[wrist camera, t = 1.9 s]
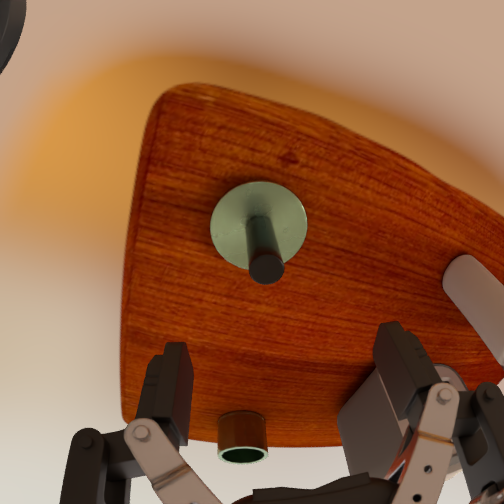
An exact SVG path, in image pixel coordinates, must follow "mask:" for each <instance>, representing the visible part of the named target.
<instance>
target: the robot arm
mask: <svg viewBox="0 0 504 504" xmlns="http://www.w3.org/2000/svg"><path fill="white" fill-rule="evenodd" d="M373 359H374V362H375V365H376V367H377V369H378V372H379V374H380V376H381V379H382V381H383V384H384V386H385V389H386V391H387V394H388V396H389V399H390V401H391V404H392V406H393V409H394V411H395V414H396V416H397V419H398V421H401V420H404V419H407V420H408V422H409V424H408V426H407V429H406V431H405V434H404V437H403V439H402V442H401V444H400V447H399V450H398V452H397V454H396V457H395V459H394V461H393V463H392V465H391V467H390V468H389V470H388V472H387V474H386V475H385V477H384V479H382V478H376V477H369V473H368V472H364V473H360V474H356V475H352V476H347V477H343V478H340V479H338V480H335V481H333V482H331V483H329V484H326V485H323V486H321V487H319V488H316V489H297V488H287V487H276V488H265V489H253V495H249V496H246V497H244V498H241V499H239V500H237V501H235V502H234V503H232V504H437V501H438V498H439V496H440V493H441V490H442V487H443V484H444V481H445V478H446V475H447V472H448V468H449V465H450V461H451V458H452V454H453V450H454V446H455V449H456V452H457V455H458V458H459V461H460V464H461V467H462V470H463V473H464V476H465V479H466V483H467V486H468V490H469V493H470V496H471V501H470V503H469V504H504V396H503V394H502V392H501V390H500V388H499V387H498V386H497V385H495V384H493V383H491V382H484V383H481V384H480V385H479V386H478V387H477V389H476V390H475V391H457V389H456V388H455V387H454V386H452V385H451V384H448V383H443V381H442V380H441V378H440V376H439V374H438V372H437V370H436V369H435V367H434V365H433V363H432V361H431V360H430V358H429V356H427V353H426V351H425V349H423V346H422V344H421V342H420V341H419V339H418V338H417V337H416V336H415V335H414V334H413V333H411V332H410V331H404V330H403V328H402V326H401V325H400V323H399V322H398V321H393V322H387V323H381V324H380V325H379V328H378V332H377V336H376V340H375V343H374V347H373ZM193 380H194V373H193V366H192V363H191V359H190V356H189V353H188V349H187V346H186V343H185V342H167V343H166V345H165V349H164V354H163V355H155V356H154V357H153V359H152V360H151V361H150V362H149V364H148V367H147V371H146V377H145V379H144V385H143V387H142V392H141V396H140V400H139V405H138V409H137V414H136V417H135V419H134V420H133V421H132V422H130V423H129V424H128V425H127V427H126V428H125V429H123V430H120V431H116V432H111V433H106V434H101V433H100V432H99V431H98V430H96V429H93V428H84V429H81V430H80V431H78V432H77V433H76V434H75V435H74V436H73V438H72V441H71V446H70V450H69V455H68V459H67V464H66V469H65V475H64V479H63V485H62V491H61V497H60V503H59V504H129V503H130V489H131V478H135V477H140V476H145V475H146V476H147V478H148V479H149V480H150V482H151V484H152V488H153V490H154V491H155V493H156V494H157V496H158V497H159V498H160V500H161V501H162V503H163V504H222V503H221V501H220V500H219V499H218V498H217V497H216V496H215V495H214V494H213V493H212V492H211V490H210V489H209V488H208V487H207V486H206V485H205V484H204V483H203V481H202V480H201V479H200V478H199V477H198V475H197V474H196V473H195V472H194V471H193V469H192V468H191V467H190V466H189V465H188V464H187V463H186V462H185V460H184V459H183V458H182V456H181V455H180V454H179V446H187V445H188V433H189V422H190V411H191V400H192V390H193ZM451 438H452V441H453V442H451Z"/></svg>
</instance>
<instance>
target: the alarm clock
mask: <svg viewBox="0 0 504 504" xmlns="http://www.w3.org/2000/svg"><path fill="white" fill-rule="evenodd" d="M433 365H434V367H435V369H436V370H437V372H438V374H439V376H440V378H441V380H442V381H443V383H448V384H451V385H452V386H454V387H455V388H456V389H457V391H469V390H468V388H467V387H466V385H465V383H464V381H463V380H462V378H461V377H460V376H459V374H458V373H457V372H456V371H455V370H454V369H452V368H451V367H450V366H447V365H444V364H433ZM408 424H409V422H408V420H407V419H404V420H401V421H398V419H397V416H396V414H395V411H394V409H393V406H392V404H391V401H390V399H389V396H388V394H387V391H386V389H385V386H384V384H383V381H382V379H381V376H380V374H379V372H378V369H377V367H376V368H375V370H374V371H373V372H372V373H371V374H370V376H369V377H368V378H367V379H366V380H365V382H364V383H363V384H362V385H361V386H360V387H359V389H358V390H357V391H356V392H355V393H354V394H353V396H352V397H351V398H350V399H349V400H348V401H347V402H346V403H345V405H344V406H343V407H342V408H341V410H340V412H339V414H338V416H337V425H338V429H339V433H340V437H341V441H342V445H343V449H344V453H345V457H346V461H347V465H348V469H349V473H350V476H352V475H356V474H360V473H364V472H368V473H369V477H376V478H382V479H384V477H385V475H386V474H387V472H388V470H389V468H390V467H391V465H392V463H393V461H394V459H395V457H396V454H397V452H398V450H399V447H400V444H401V442H402V439H403V437H404V434H405V431H406V429H407V426H408ZM451 442H453V441H452V438H451ZM461 471H462V467H461V464H460V461H459V458H458V455H457V452H456V449H455V446H454V450H453V454H452V458H451V461H450V465H449V468H448V472H447V475H446V478H445V481H447V480H449V479H450V478H452V477H453V476H455V475H456V474H458V473H459V472H461Z"/></svg>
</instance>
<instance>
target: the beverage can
mask: <svg viewBox="0 0 504 504" xmlns="http://www.w3.org/2000/svg"><path fill="white" fill-rule="evenodd" d="M442 284H443V289H444V291H445V292H446V294H447V295H448V296H449V297H450V298H451V300H452V301H453V302H454V303H455V305H456V306H457V307H458V308H459V310H460V311H461V312H462V313H463V315H464V316H465V317H466V319H467V320H468V321H469V322H470V324H471V325H472V326H473V328H474V329H475V330H476V332H477V333H478V334H479V336H480V337H481V338H482V340H483V341H484V343H485V344H486V345H487V347H488V348H489V350H490V351H491V352H492V354H493V355H494V357H495V358H496V360H497V361H498V363H499V364H501V365H502V366H504V286H503V285H502V284H501V283H500V282H499V281H498V280H497V279H496V278H495V277H494V276H493V275H492V274H491V273H490V272H489V271H488V270H487V269H486V268H485V267H484V266H483V265H482V264H481V263H480V262H479V261H477V260H476V259H475V258H474V257H473V256H471V255H462V256H459V257H457V258H456V259H454V260H453V261H452V262H451V263H450V264H449V266H448V267H447V269H446V271H445V273H444V276H443V283H442Z"/></svg>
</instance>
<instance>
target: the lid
mask: <svg viewBox="0 0 504 504" xmlns="http://www.w3.org/2000/svg"><path fill="white" fill-rule="evenodd" d="M210 233H211V238H212V241H213V244H214V245H215V247H216V249H217V251H218V252H219V253H220V254H221V255H222V256H223V258H225V259H226V260H227V261H228V262H230V263H232V264H233V265H235V266H238V267H240V268H243V269H248V270H249V274H250V276H251V278H252V279H253V280H254V281H255V282H257V283H259V284H264V285H267V284H272V283H275V282H276V281H278V280H279V279H280V278H281V277H282V275H283V273H284V263H285V262H287V261H288V260H289V259H291V258H292V257H293V256H294V255H295V254H296V253H297V252H298V250H299V249H300V247H301V246H302V244H303V242H304V239H305V237H306V233H307V216H306V212H305V209H304V207H303V205H302V203H301V202H300V200H299V199H298V197H297V196H296V195H295V194H294V193H293V192H292V191H291V190H289V189H288V188H287V187H285V186H283V185H281V184H279V183H276V182H272V181H267V180H252V181H247V182H244V183H241V184H238V185H236V186H235V187H233V188H231V189H230V190H228V191H227V192H226V193H225V194H224V195H223V196H222V197H221V198H220V199H219V201H218V202H217V204H216V206H215V207H214V210H213V212H212V216H211V222H210Z"/></svg>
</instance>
